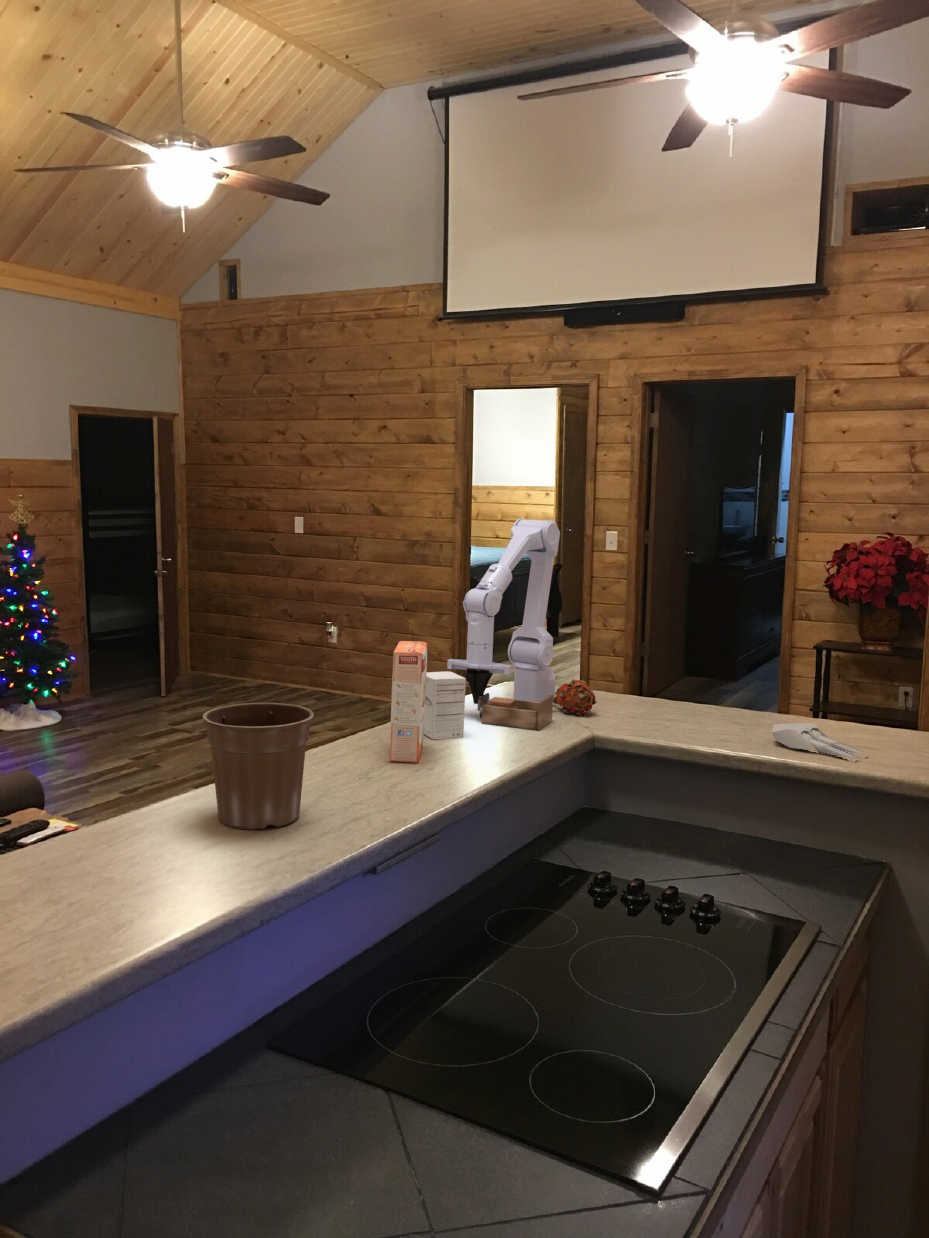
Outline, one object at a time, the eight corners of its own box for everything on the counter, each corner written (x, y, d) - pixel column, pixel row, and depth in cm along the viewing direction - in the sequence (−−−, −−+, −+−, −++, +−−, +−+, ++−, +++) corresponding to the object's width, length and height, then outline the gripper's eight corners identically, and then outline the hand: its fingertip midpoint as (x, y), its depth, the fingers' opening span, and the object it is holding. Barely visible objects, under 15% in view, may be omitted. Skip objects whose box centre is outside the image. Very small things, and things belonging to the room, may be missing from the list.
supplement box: (417, 731, 209) (419, 672, 208) (449, 729, 212) (452, 670, 211) (431, 740, 203) (433, 678, 201) (464, 737, 206) (466, 677, 204)
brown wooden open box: (481, 723, 218) (482, 696, 218) (496, 714, 228) (497, 688, 227) (538, 730, 214) (540, 703, 213) (551, 721, 223) (553, 694, 222)
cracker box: (420, 764, 185) (424, 652, 182) (388, 762, 185) (391, 650, 182) (425, 745, 199) (428, 640, 196) (394, 743, 199) (397, 639, 196)
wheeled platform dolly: (476, 718, 220) (476, 697, 219) (487, 711, 227) (488, 691, 226) (508, 722, 217) (509, 701, 217) (519, 715, 224) (520, 695, 224)
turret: (848, 775, 197) (854, 753, 196) (758, 740, 210) (763, 719, 209) (870, 767, 204) (875, 745, 203) (782, 733, 217) (786, 713, 216)
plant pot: (184, 830, 145) (184, 721, 143) (225, 797, 161) (226, 699, 159) (293, 839, 143) (295, 729, 141) (324, 805, 159) (326, 705, 157)
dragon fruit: (589, 725, 227) (556, 722, 237) (611, 701, 231) (578, 698, 241) (570, 697, 224) (538, 695, 234) (593, 673, 228) (561, 671, 238)
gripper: (443, 642, 221) (440, 702, 222) (505, 648, 216) (502, 710, 217) (454, 638, 227) (452, 697, 229) (515, 644, 222) (512, 704, 224)
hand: (477, 703), depth 224 cm, fingers closed
